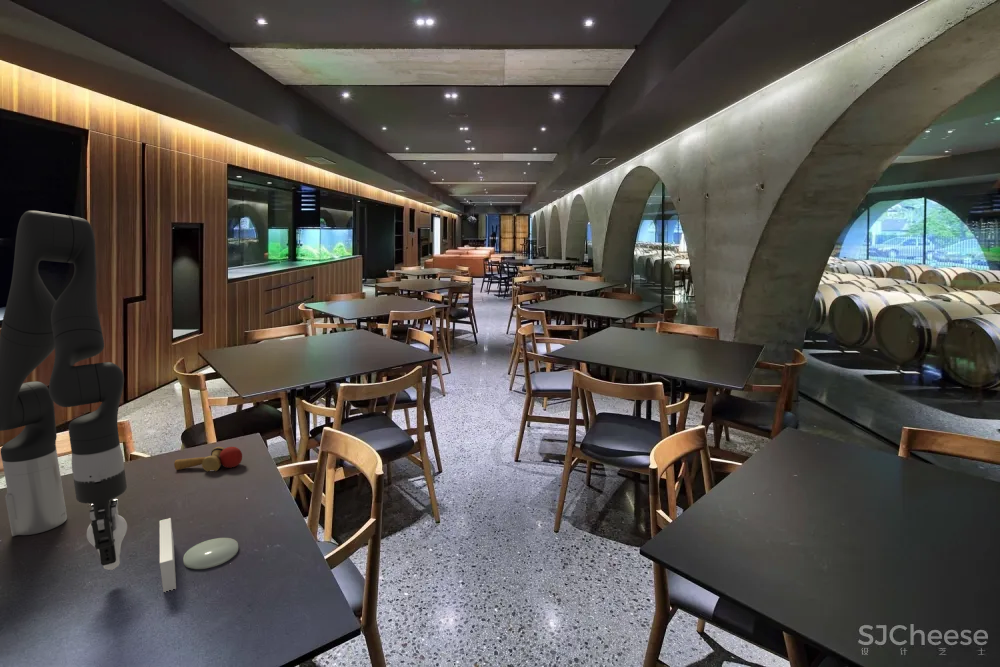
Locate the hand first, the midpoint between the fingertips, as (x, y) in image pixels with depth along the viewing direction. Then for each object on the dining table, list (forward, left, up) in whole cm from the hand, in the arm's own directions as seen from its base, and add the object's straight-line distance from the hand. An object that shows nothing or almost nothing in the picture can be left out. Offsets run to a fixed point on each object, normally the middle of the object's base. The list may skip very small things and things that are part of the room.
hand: (110, 554), depth 100 cm
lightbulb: (0, 0, -3) cm, 3 cm away
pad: (+16, 0, -6) cm, 17 cm away
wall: (+9, 0, -6) cm, 11 cm away
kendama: (+20, +50, -6) cm, 54 cm away
